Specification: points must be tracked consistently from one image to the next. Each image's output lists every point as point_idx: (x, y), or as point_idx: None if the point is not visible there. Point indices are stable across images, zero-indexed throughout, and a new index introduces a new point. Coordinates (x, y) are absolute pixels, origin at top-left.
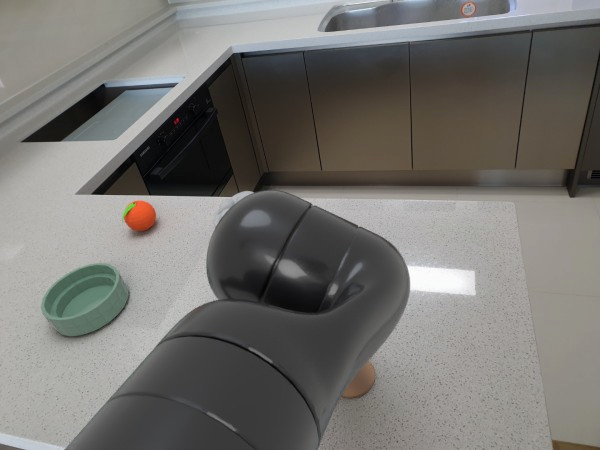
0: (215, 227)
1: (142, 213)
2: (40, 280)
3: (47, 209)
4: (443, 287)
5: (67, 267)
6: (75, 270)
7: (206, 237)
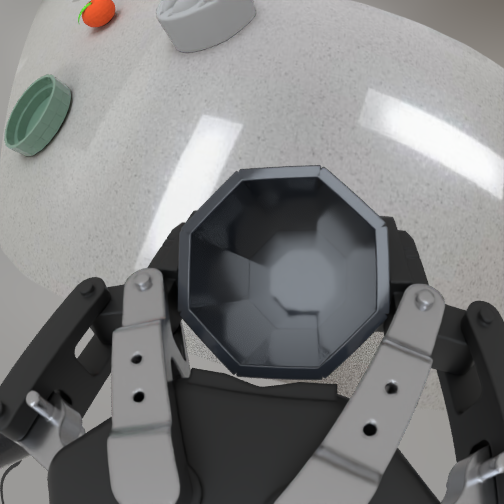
0: (156, 16)
1: (96, 10)
2: None
3: (49, 21)
4: (472, 171)
5: (41, 75)
6: (30, 86)
7: (160, 25)
